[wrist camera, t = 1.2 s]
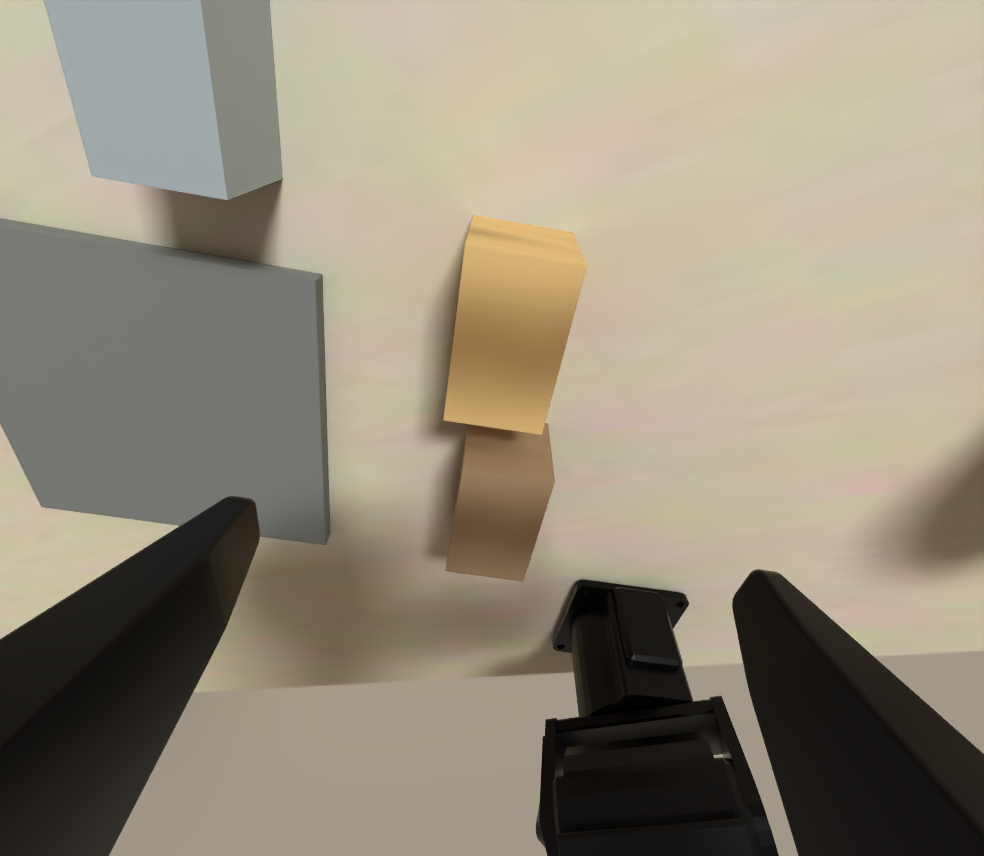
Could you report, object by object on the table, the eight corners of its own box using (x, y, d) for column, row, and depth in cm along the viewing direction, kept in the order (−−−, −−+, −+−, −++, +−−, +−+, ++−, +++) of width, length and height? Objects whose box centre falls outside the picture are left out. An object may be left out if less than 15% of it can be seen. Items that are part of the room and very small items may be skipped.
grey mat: (330, 533, 26) (325, 545, 25) (53, 496, 25) (41, 506, 24) (322, 274, 18) (315, 281, 17) (-83, 203, 17) (-107, 208, 16)
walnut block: (521, 516, 25) (523, 581, 22) (453, 507, 25) (445, 571, 22) (547, 422, 22) (554, 481, 18) (469, 410, 22) (463, 468, 18)
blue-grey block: (284, 178, 16) (227, 200, 13) (176, 158, 16) (91, 176, 13) (266, -69, 13) (183, -123, 10) (130, -99, 13) (-1, -163, 10)
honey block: (536, 379, 21) (541, 434, 17) (454, 366, 20) (443, 420, 17) (572, 231, 17) (587, 265, 14) (473, 214, 17) (464, 244, 14)
